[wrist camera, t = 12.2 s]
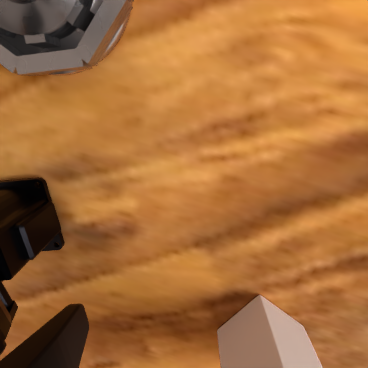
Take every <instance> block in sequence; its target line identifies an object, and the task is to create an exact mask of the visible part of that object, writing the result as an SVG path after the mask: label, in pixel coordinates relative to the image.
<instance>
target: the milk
mask: <svg viewBox="0 0 368 368" xmlns="http://www.w3.org/2000/svg"><path fill="white" fill-rule="evenodd" d="M217 334H218V345H219V355H220V365H221V368H323V367H322V365H321V363H320V361H319V359H318V356H317V354H316V352H315V350H314V348H313V346H312V344H311V341H310V339H309V337H308V335H307V333H306V331H305V329H304V327H303V325H301V324H300V323H299V322H297V321H296V320H294V319H293V318H292V317H290V316H289V315H288V314H286V313H285V312H283V311H282V310H281V309H279V308H278V307H276V306H275V305H274V304H272V303H271V302H270V301H268V300H267V299H265V298H264V297H263V296H261V295H258V296H257V297H256V298H254V299H253V300H252V301H251V302H250V303H248V304H247V305H246V306H245V307H244V308H242V309H241V310H240V311H239V312H238V313H237V314H235V315H234V316H233V317H232V318H231V319H229V320H228V321H227V322H226V323H225V324H223V325H222V326H221V327H220V328H219V329H218V330H217Z"/></svg>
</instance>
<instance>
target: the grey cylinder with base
mask: <svg viewBox="0 0 368 368" xmlns="http://www.w3.org/2000/svg"><path fill="white" fill-rule="evenodd" d="M92 3H93V0H0V34H1V35H4V36H8V37H11V38H15V36H16V34H19V35H22V36H24V38H25V42H26V44H29V45H32V46H36V47H39V48H43V49H44V48H55V47H61V45H60V40H59V39H62V38H65V37H67V36H69V35H71V34H72V33H73V32H75V31H76V30H77V29H78V28H79V29H80V30H82V31H84V32H85V31H86V29H87V28H88V26H89V25H90V23H91V21H92V20H93V18H94V16H95V14H94V13H93V12H92V11H90V9H91V6H92Z"/></svg>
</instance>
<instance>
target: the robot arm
mask: <svg viewBox="0 0 368 368" xmlns="http://www.w3.org/2000/svg"><path fill="white" fill-rule="evenodd" d="M37 182H39V183H40V185H41V186H39V185H38V184H37ZM56 243H59V245H58V244H56ZM63 246H64V240H63V236H62V233H61V227H60V223H59V220H58V217H57V213H56V210H55V207H54V204H53V203H52V200H51V197H50V193H49V190H48V187H47V183H46V181H45V180H44V179H43V178H39V177H38V178H28V179H17V180H7V181H0V355H1V354H2V353H3V351H4V349H5V347H6V342H5V341H4V340H5V339H6V337H7V334H8V332H9V329H10V327H11V323H12V320H13V318H14V316H15V313H16V311H17V309H18V306H17V304H16V303H15V301H12V299H11V297H10V296H9V294H8V292H7V290H6V289H5V287H4V285H3V284H2V282H3V281H4V280H11V279H12V278H13V277H14V276H15V275H16V274H17V273H18V272H19V271H20V270H21V269H22V268H23V266H24V265H25V264H26V263H27V262H28V261H29V260H33V259H34V258H35V257H36V256H37V255H38V254H39V253H40V252H41V251H50V250H60V249H61V248H62V247H63ZM88 331H89V322H88V318H87V315H86V312H85V308H84V306H83V305H82V304H70V305H68V306H66V307H65V308H64V309H63V310H62V311H60V312H59V313H58V314H57V315H56V316H54V317H53V318H52V319H51V320H49V321H48V322H47V323H46V324H45V325H43V326H42V327H41V328H40V329H39V330H37V331H36V332H35V333H34V334H32V335H31V336H30V337H29V338H28V339H26V340H25V341H24V342H23V343H21V344H20V345H19V346H18V347H17V348H15V349H14V350H13V351H12V352H11V353H9V354H8V355H7V356H6V357H4V358H3V359H2V360H1V361H0V368H79V365H80V361H81V357H82V354H83V350H84V346H85V342H86V338H87V335H88Z"/></svg>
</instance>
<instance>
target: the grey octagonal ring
mask: <svg viewBox="0 0 368 368" xmlns="http://www.w3.org/2000/svg"><path fill="white" fill-rule="evenodd" d="M133 1H134V0H93V3H92V6H91V9H90V11H92V12H93V13H94V14H95V16H94V18H93V20H92V21H91V23H90V25H89V26H88V28H87V29H86V31H85V32H84V31H82V30H80V29H79V28H78V29H77V30H76V31H75V32H73V33H72V34H71V35H69V36H67V37H65V38H62V39H59V40H60V45H61V47H55V48H44V49H43V48H39V47H36V46H32V45H29V44H26V42H25V38H24V36H22V35H19V34H16V36H15V38H11V37H8V36H4V35H1V34H0V64H1V65H3V66H4V67H5V68H7V69H8V70H9V71H11V72H12V73H17V74H18V75H28V76H36V75H44V74H52V75H68V74H73V73H78V72H81V71H84V70H86V69H92V66H94V65H95V66H97V64H98V63H99V62H100V61H101V60H103V59H104V58H105V57H106V56H107V55H108V54H109V53H110V52H111V51H112V50H113V48H114V47H115V46H116V44H117V43H118V41H119V40H120V38H121V36H122V34H123V32H124V30H125V28H126V25H127V22H128V20H129V16H130V12H131V10H132V8H133V7H132V2H133Z"/></svg>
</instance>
